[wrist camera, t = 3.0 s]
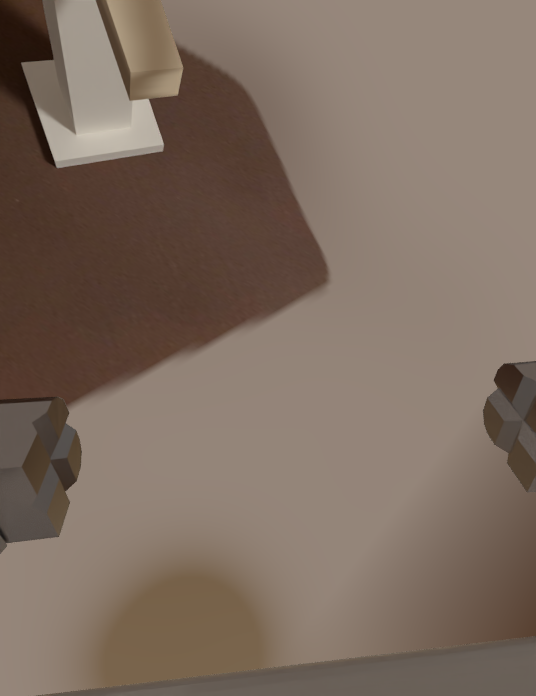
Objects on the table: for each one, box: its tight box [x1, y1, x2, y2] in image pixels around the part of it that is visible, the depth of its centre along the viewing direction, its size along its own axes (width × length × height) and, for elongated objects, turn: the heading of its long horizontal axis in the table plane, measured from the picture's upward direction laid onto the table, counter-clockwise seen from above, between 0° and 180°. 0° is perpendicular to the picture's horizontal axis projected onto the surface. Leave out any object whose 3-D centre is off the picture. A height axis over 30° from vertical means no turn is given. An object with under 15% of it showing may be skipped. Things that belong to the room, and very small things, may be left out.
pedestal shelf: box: [21, 0, 164, 168], centre depth 38 cm, size 12×11×25 cm
